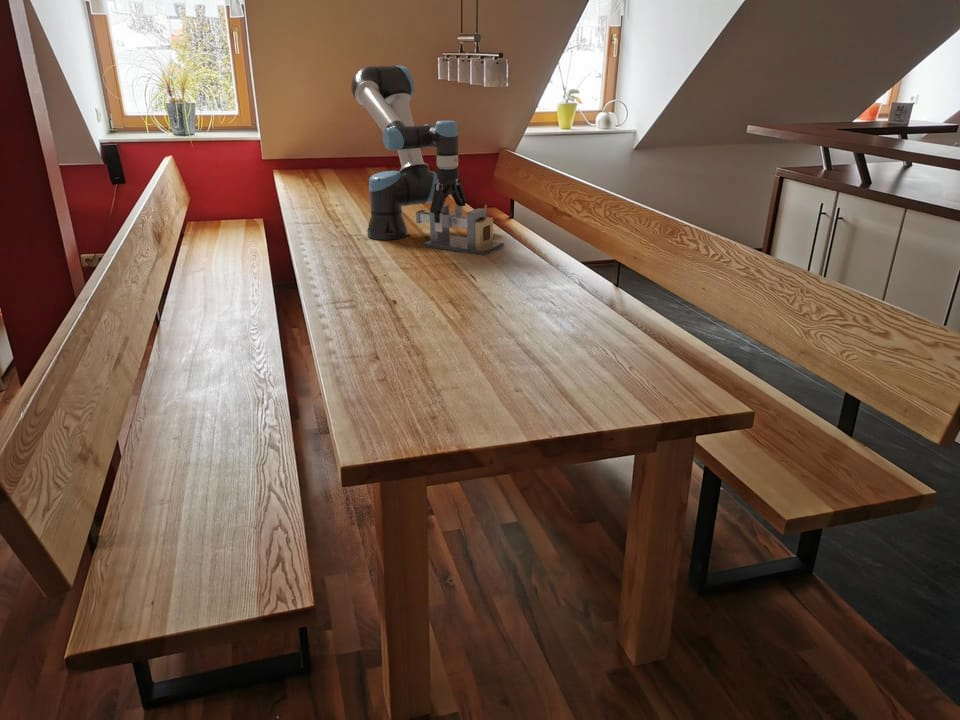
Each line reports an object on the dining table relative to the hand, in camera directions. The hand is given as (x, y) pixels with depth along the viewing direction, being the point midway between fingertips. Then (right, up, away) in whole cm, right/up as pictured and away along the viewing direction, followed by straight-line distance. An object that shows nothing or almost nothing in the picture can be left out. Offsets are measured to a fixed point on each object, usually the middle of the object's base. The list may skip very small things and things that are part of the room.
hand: (449, 227), depth 270 cm
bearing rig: (+5, -7, 0) cm, 9 cm away
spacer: (+12, -3, -7) cm, 15 cm away
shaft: (-1, +1, 0) cm, 1 cm away
